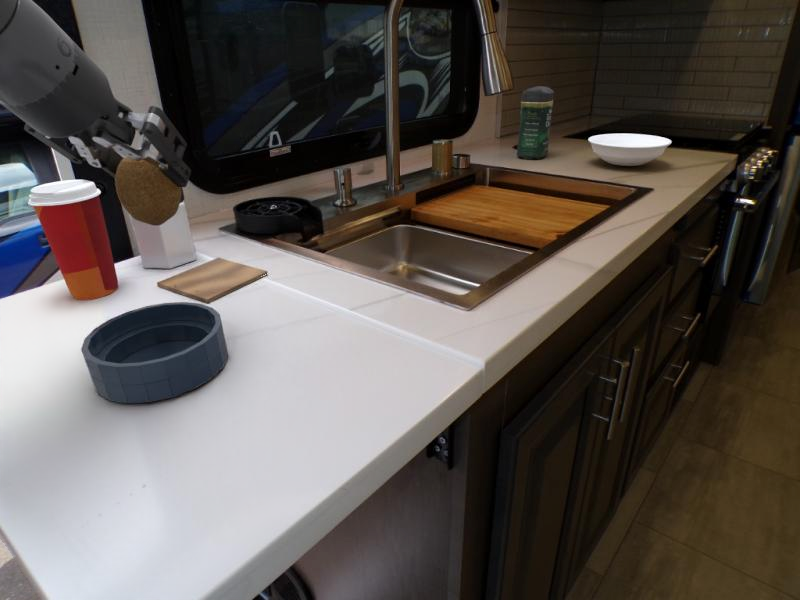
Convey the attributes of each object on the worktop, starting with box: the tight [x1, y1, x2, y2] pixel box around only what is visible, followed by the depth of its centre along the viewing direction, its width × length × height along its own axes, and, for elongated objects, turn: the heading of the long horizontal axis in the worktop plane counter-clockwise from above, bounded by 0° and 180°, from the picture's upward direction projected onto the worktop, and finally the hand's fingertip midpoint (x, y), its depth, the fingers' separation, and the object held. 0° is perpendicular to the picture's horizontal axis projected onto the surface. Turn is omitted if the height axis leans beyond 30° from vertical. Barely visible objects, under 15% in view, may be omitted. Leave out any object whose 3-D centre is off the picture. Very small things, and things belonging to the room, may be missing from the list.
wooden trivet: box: [156, 257, 269, 304], centre depth 76 cm, size 11×11×1 cm
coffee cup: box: [27, 179, 119, 301], centre depth 71 cm, size 8×8×15 cm
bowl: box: [587, 133, 673, 167], centre depth 135 cm, size 20×20×6 cm
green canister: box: [516, 85, 555, 160], centre depth 145 cm, size 10×8×19 cm
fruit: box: [114, 153, 181, 226], centre depth 55 cm, size 6×6×8 cm
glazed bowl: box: [80, 301, 229, 404], centre depth 55 cm, size 13×13×4 cm
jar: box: [128, 187, 197, 270], centre depth 82 cm, size 9×8×12 cm
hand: (157, 178), depth 56 cm, fingers closed on fruit, 6 cm apart
